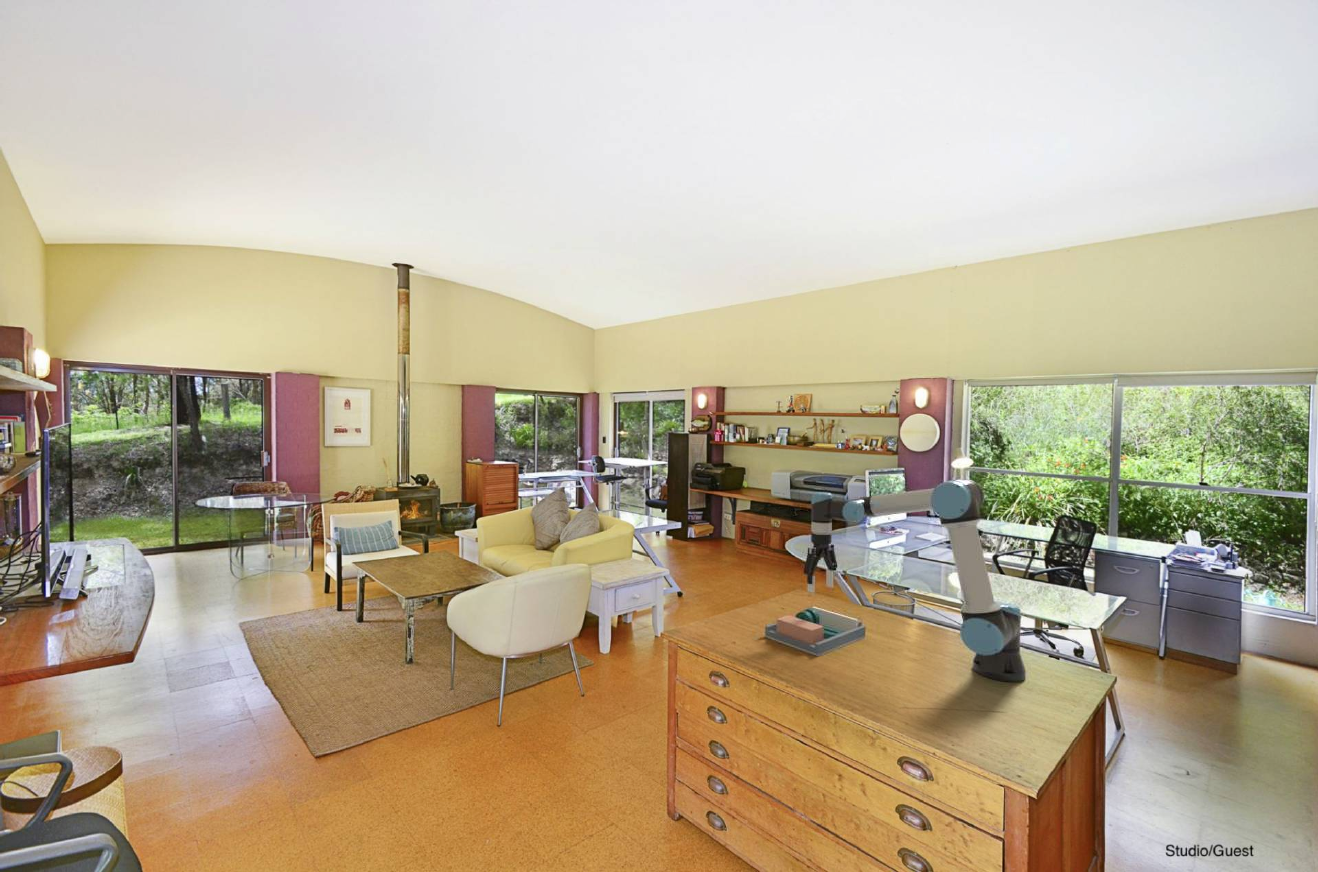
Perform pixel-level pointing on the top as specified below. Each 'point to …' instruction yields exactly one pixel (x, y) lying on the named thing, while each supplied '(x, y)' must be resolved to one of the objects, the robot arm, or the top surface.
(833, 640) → the grey tray
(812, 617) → the bracket
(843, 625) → the pusher plate
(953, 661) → the top surface
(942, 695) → the top surface
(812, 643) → the box
